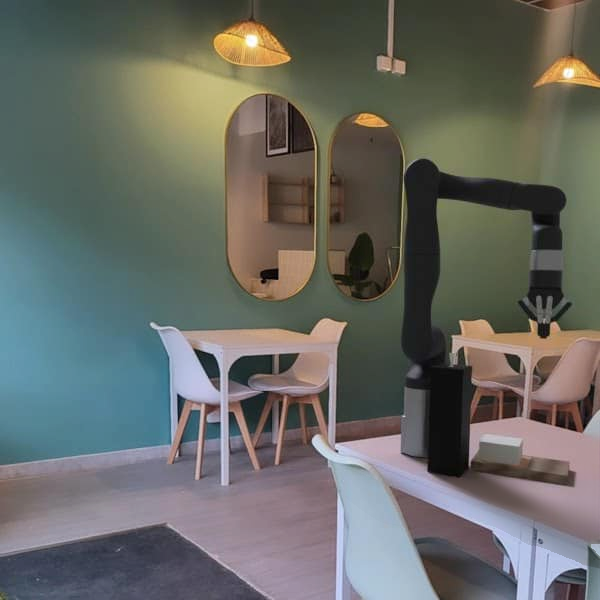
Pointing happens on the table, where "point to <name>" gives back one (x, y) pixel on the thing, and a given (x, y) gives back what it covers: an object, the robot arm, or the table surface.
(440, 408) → the black rectangular column
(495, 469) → the podium
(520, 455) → the carton
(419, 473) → the table surface
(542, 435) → the table surface
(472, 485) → the table surface
